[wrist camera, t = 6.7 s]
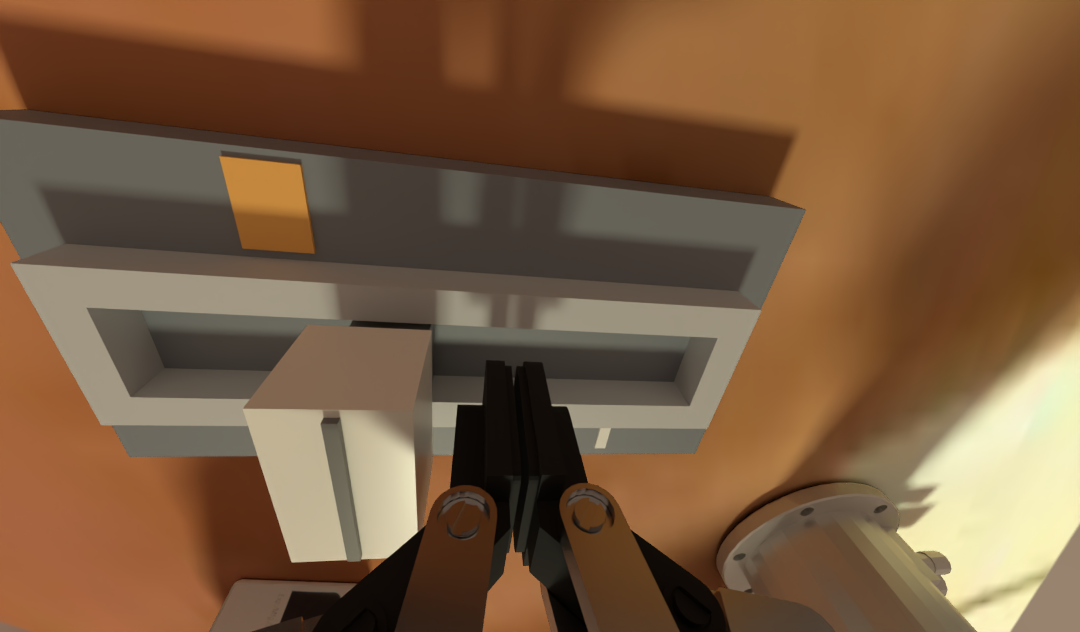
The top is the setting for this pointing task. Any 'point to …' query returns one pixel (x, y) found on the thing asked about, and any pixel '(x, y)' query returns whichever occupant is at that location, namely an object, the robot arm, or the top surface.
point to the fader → (348, 438)
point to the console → (374, 276)
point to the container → (275, 603)
